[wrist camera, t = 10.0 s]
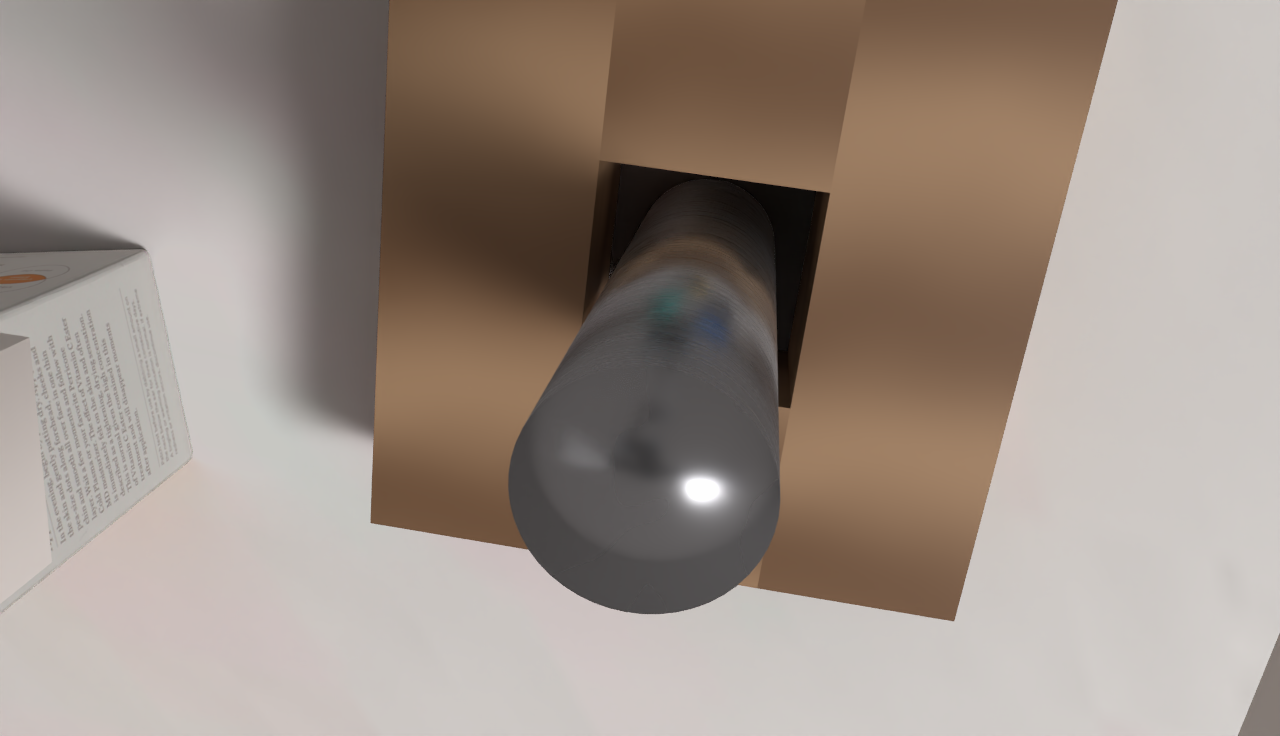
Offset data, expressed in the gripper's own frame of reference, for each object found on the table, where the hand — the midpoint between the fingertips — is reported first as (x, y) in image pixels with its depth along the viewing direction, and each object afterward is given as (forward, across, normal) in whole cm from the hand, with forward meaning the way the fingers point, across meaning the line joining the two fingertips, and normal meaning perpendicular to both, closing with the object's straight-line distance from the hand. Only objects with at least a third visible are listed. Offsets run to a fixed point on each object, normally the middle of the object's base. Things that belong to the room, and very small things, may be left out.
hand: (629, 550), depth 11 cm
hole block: (+16, 0, -1) cm, 16 cm away
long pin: (+16, 0, -1) cm, 16 cm away
